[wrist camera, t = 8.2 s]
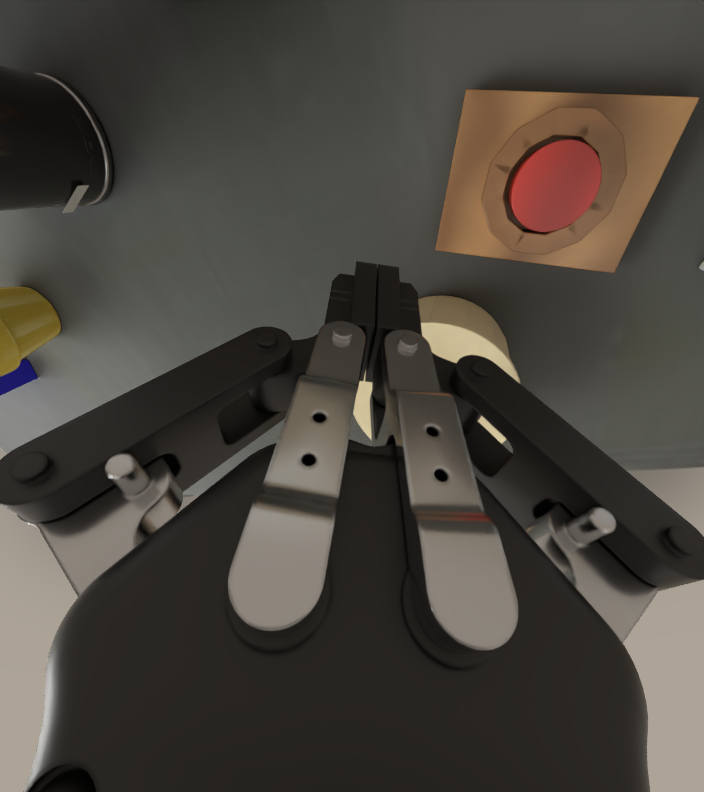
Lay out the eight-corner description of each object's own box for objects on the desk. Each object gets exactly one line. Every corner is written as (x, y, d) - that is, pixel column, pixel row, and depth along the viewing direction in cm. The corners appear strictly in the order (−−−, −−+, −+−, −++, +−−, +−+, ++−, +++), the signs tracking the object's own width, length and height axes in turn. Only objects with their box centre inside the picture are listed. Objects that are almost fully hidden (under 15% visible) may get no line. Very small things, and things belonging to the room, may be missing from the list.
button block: (436, 246, 27) (432, 254, 24) (466, 94, 22) (465, 82, 19) (606, 267, 24) (624, 280, 21) (684, 102, 19) (720, 90, 16)
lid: (347, 437, 31) (312, 512, 24) (358, 302, 24) (312, 355, 17) (490, 472, 29) (496, 568, 22) (549, 334, 22) (586, 410, 15)
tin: (369, 397, 36) (350, 438, 30) (382, 285, 29) (361, 311, 24) (484, 423, 34) (487, 473, 28) (527, 307, 27) (541, 342, 21)
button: (499, 224, 22) (501, 227, 21) (523, 139, 20) (526, 136, 18) (573, 232, 21) (579, 236, 20) (607, 144, 19) (618, 142, 17)
